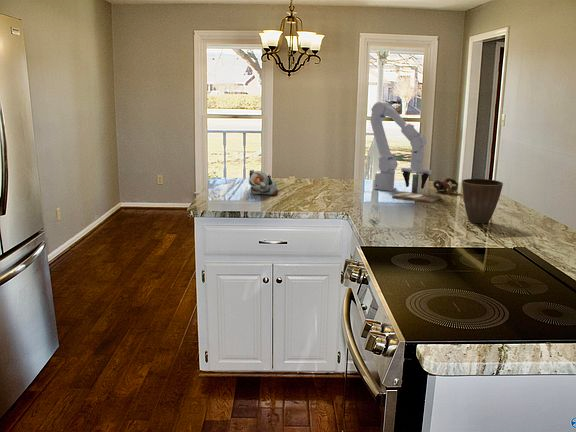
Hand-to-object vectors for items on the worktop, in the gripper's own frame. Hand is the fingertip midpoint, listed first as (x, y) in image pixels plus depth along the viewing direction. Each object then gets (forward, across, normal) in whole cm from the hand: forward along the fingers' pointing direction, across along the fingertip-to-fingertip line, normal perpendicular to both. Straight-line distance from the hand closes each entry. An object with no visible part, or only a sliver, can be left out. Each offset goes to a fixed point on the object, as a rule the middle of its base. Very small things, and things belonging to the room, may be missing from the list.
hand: (414, 187), depth 268 cm
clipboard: (+3, +5, -12) cm, 13 cm away
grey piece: (+3, -58, -48) cm, 75 cm away
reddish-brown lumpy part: (+3, +12, +12) cm, 17 cm away
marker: (+3, 0, 0) cm, 3 cm away
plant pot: (+3, +40, -44) cm, 60 cm away
